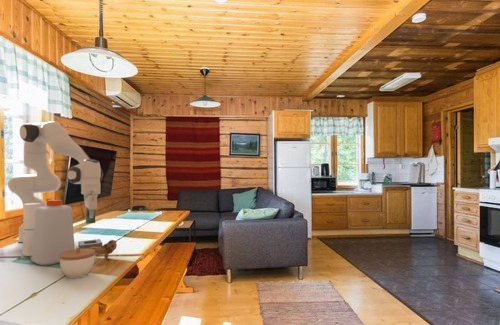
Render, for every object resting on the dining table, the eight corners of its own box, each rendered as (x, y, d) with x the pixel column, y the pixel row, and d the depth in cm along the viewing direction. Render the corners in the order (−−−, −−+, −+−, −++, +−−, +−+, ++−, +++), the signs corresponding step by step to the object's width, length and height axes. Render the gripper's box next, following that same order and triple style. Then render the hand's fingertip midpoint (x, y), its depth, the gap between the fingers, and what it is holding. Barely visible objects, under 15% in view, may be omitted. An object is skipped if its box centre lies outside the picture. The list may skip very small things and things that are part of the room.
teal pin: (94, 221, 159) (94, 206, 159) (95, 222, 155) (95, 207, 156) (85, 222, 156) (85, 206, 157) (86, 223, 153) (86, 207, 153)
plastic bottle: (78, 259, 144) (79, 199, 144) (42, 267, 131) (43, 202, 132) (63, 253, 152) (64, 198, 153) (27, 261, 140) (29, 200, 140)
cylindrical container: (31, 256, 148) (31, 204, 148) (18, 255, 149) (19, 204, 150) (43, 252, 155) (44, 203, 155) (32, 251, 156) (32, 202, 157)
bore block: (78, 251, 157) (78, 241, 157) (99, 248, 163) (99, 239, 163) (79, 255, 149) (80, 245, 149) (102, 252, 154) (102, 242, 155)
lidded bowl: (87, 267, 131) (87, 242, 131) (100, 274, 123) (100, 247, 123) (54, 275, 121) (54, 248, 122) (66, 283, 113) (66, 253, 114)
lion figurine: (116, 256, 147) (116, 238, 148) (117, 259, 143) (117, 240, 143) (81, 261, 140) (81, 241, 140) (81, 264, 136) (81, 244, 136)
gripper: (100, 191, 149) (100, 219, 149) (95, 189, 166) (95, 214, 166) (85, 191, 146) (85, 220, 146) (82, 189, 163) (81, 215, 163)
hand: (90, 217), depth 156 cm, fingers closed on teal pin, 4 cm apart
